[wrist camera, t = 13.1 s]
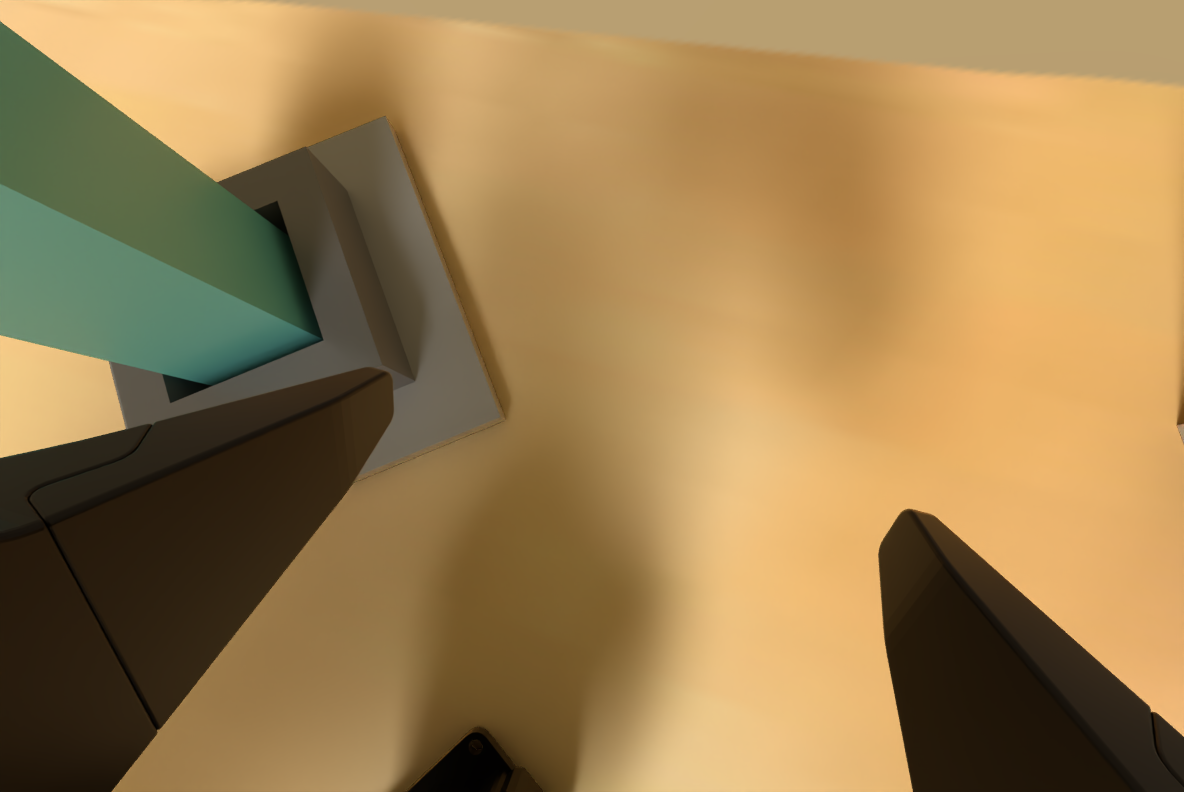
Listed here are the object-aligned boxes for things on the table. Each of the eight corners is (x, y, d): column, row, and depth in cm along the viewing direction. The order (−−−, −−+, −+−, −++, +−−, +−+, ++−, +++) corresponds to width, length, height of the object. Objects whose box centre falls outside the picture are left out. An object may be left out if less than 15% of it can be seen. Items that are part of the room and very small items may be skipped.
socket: (505, 419, 22) (480, 406, 18) (180, 554, 22) (81, 570, 18) (394, 130, 24) (350, 62, 20) (100, 250, 24) (-3, 204, 20)
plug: (345, 350, 21) (-148, 113, 8) (242, 392, 21) (-441, 230, 8) (313, 254, 22) (-191, -121, 8) (213, 295, 22) (-459, -16, 8)
